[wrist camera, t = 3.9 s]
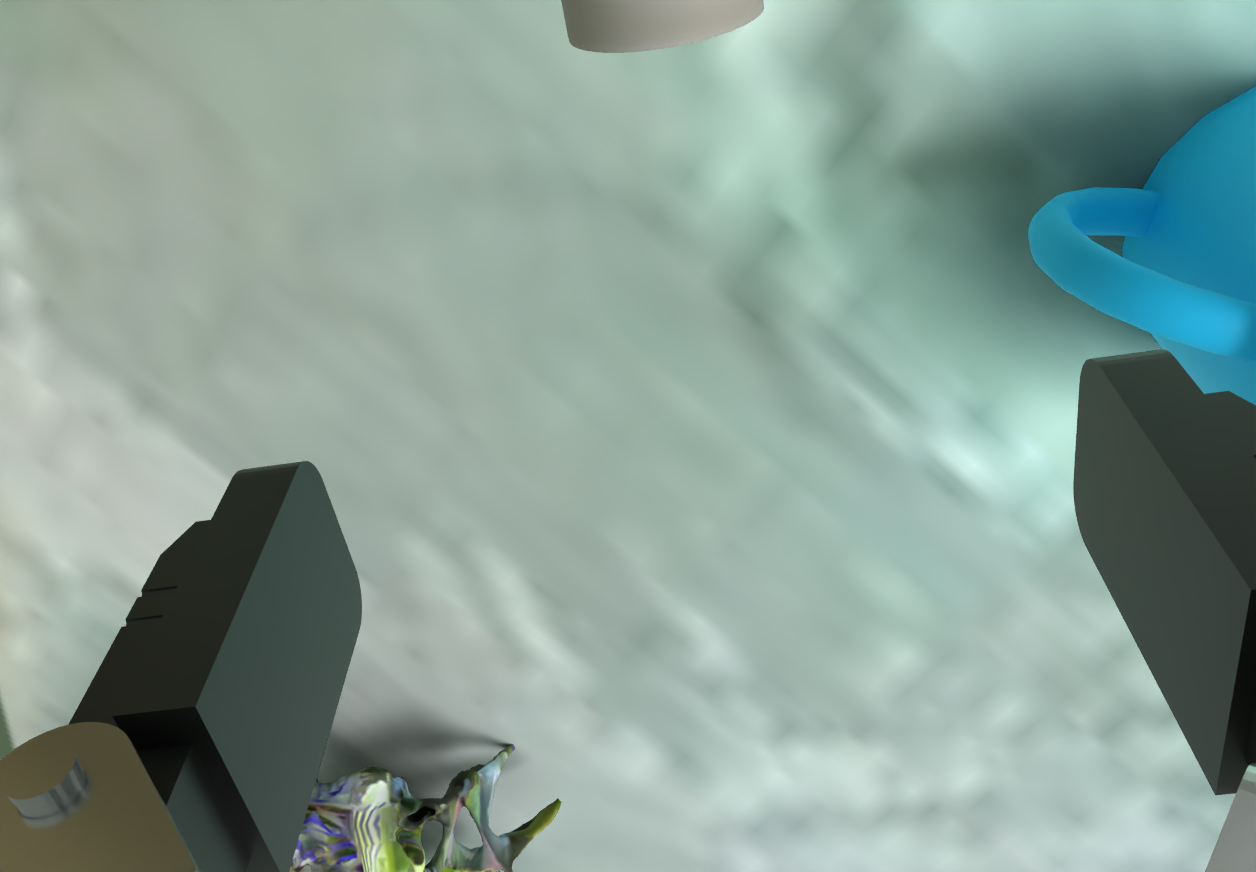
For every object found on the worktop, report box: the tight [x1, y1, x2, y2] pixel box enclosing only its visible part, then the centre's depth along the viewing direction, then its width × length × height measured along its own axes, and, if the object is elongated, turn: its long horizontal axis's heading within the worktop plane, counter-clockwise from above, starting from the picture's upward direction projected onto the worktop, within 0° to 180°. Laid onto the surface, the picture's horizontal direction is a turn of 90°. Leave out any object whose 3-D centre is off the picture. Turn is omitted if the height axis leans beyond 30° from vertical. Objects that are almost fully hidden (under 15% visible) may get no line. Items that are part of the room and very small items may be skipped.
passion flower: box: [289, 744, 561, 872], centre depth 38 cm, size 11×11×12 cm
